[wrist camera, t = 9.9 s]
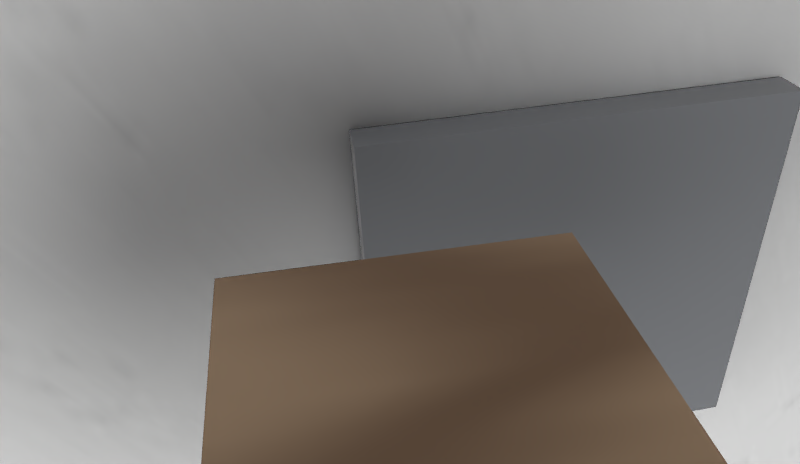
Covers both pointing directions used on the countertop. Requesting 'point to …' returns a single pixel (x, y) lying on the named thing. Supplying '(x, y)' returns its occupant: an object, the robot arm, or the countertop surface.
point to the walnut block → (440, 365)
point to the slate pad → (602, 200)
